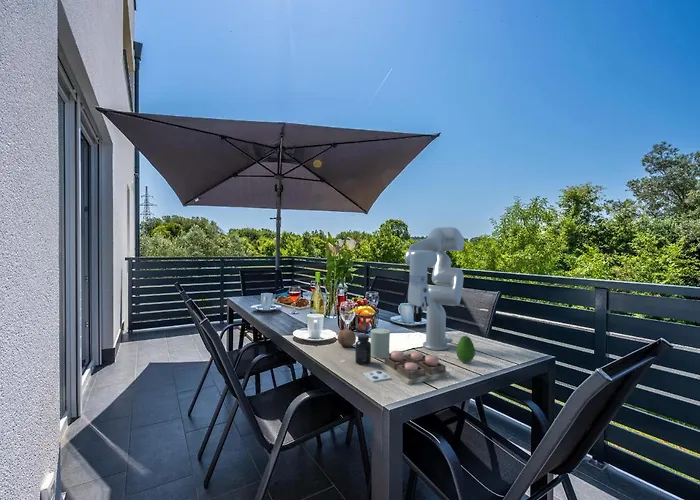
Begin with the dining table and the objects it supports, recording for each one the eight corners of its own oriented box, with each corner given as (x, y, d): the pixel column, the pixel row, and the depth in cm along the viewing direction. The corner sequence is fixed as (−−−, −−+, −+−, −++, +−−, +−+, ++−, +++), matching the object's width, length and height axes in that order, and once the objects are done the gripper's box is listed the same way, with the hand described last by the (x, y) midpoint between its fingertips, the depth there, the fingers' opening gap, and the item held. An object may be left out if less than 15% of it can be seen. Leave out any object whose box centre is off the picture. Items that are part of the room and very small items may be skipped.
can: (388, 359, 155) (389, 333, 154) (368, 357, 156) (369, 331, 156) (390, 352, 164) (390, 328, 163) (371, 351, 165) (371, 326, 165)
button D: (412, 368, 137) (412, 361, 137) (420, 372, 132) (420, 366, 132) (401, 369, 135) (402, 363, 135) (409, 374, 130) (409, 367, 130)
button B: (432, 360, 141) (432, 354, 141) (440, 364, 137) (441, 358, 137) (422, 362, 139) (422, 356, 139) (430, 366, 134) (430, 360, 134)
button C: (399, 356, 146) (399, 350, 146) (406, 360, 141) (406, 353, 141) (388, 357, 144) (388, 351, 144) (395, 361, 139) (395, 355, 139)
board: (419, 360, 154) (419, 351, 154) (449, 376, 136) (449, 366, 136) (380, 366, 145) (381, 357, 145) (407, 384, 127) (408, 373, 127)
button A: (418, 357, 150) (418, 351, 150) (425, 360, 146) (425, 355, 146) (408, 358, 148) (408, 352, 148) (415, 362, 144) (415, 356, 144)
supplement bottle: (354, 360, 153) (355, 333, 152) (369, 359, 153) (370, 333, 153) (356, 365, 146) (356, 337, 145) (371, 365, 146) (372, 337, 146)
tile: (380, 371, 139) (380, 369, 139) (391, 378, 132) (391, 376, 132) (363, 374, 136) (363, 372, 136) (373, 382, 129) (373, 380, 129)
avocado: (457, 364, 149) (458, 337, 149) (454, 358, 157) (455, 332, 156) (476, 365, 148) (477, 338, 148) (472, 359, 156) (473, 333, 155)
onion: (344, 349, 176) (343, 330, 180) (359, 347, 172) (358, 328, 176) (333, 347, 169) (333, 327, 173) (350, 345, 164) (349, 324, 169)
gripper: (436, 281, 141) (435, 324, 142) (415, 277, 155) (414, 317, 156) (421, 282, 138) (421, 326, 139) (401, 278, 152) (400, 318, 152)
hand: (417, 321), depth 147 cm, fingers closed
